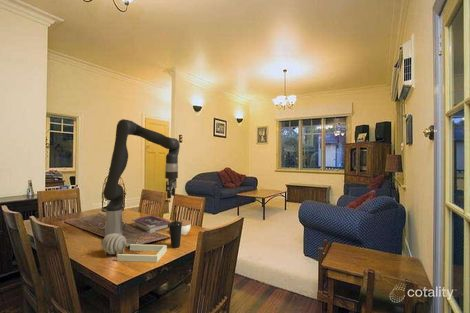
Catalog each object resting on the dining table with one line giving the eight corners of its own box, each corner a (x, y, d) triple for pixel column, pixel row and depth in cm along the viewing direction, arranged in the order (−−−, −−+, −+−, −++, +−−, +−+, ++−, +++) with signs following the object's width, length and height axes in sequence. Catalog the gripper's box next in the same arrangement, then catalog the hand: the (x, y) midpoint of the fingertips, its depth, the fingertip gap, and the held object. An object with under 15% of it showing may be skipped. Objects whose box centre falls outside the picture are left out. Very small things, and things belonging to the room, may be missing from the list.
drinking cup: (169, 244, 149) (169, 210, 148) (183, 244, 149) (183, 210, 149) (167, 249, 141) (167, 214, 140) (181, 249, 142) (181, 213, 141)
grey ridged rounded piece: (108, 249, 141) (108, 229, 141) (135, 252, 137) (135, 231, 137) (94, 257, 131) (93, 235, 130) (122, 260, 127) (122, 238, 127)
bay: (117, 260, 126) (117, 254, 126) (130, 249, 141) (130, 244, 141) (157, 262, 125) (157, 256, 125) (166, 250, 139) (166, 245, 139)
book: (131, 225, 185) (131, 219, 185) (152, 221, 197) (152, 215, 197) (149, 233, 168) (149, 226, 168) (170, 228, 180) (170, 221, 180)
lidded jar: (187, 236, 162) (187, 222, 162) (171, 235, 164) (171, 221, 164) (193, 231, 172) (193, 217, 172) (178, 230, 174) (178, 216, 174)
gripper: (169, 169, 162) (168, 194, 162) (161, 171, 148) (161, 199, 148) (180, 169, 161) (180, 195, 162) (174, 171, 147) (173, 199, 148)
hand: (171, 196), depth 155 cm, fingers open, 8 cm apart
